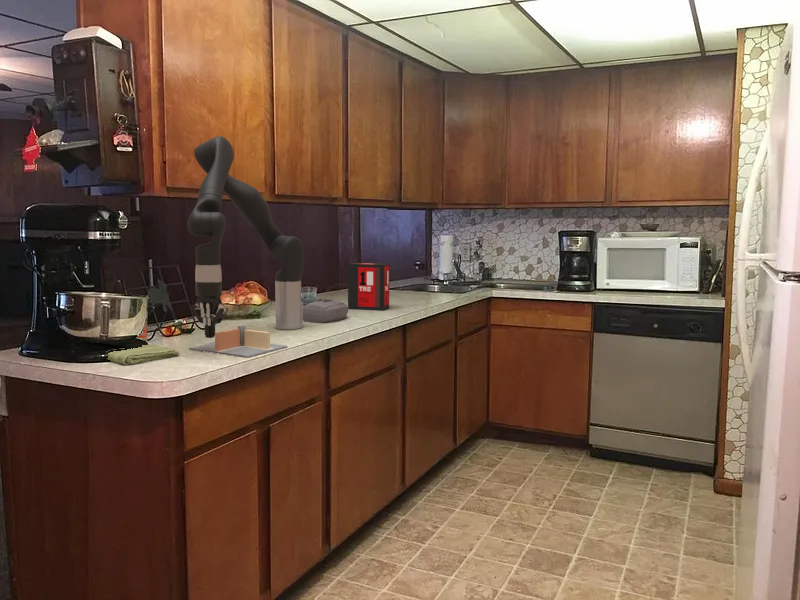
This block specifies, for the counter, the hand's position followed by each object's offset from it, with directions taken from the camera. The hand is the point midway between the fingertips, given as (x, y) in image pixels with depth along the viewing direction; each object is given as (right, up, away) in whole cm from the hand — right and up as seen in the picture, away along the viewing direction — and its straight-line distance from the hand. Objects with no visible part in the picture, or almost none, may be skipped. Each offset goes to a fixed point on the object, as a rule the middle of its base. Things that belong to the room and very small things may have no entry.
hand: (210, 337), depth 196 cm
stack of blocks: (-32, -3, +9) cm, 33 cm away
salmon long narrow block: (+5, -3, +1) cm, 6 cm away
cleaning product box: (+43, +7, +96) cm, 105 cm away
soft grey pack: (+28, +3, +64) cm, 70 cm away
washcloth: (-16, -6, -10) cm, 20 cm away
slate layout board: (+8, -4, +4) cm, 9 cm away
